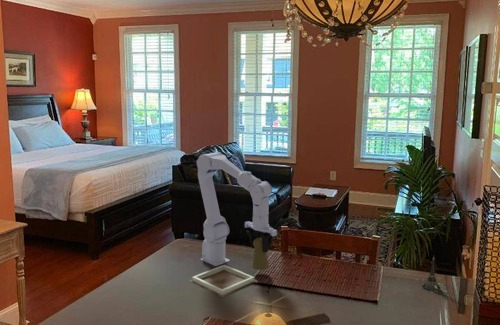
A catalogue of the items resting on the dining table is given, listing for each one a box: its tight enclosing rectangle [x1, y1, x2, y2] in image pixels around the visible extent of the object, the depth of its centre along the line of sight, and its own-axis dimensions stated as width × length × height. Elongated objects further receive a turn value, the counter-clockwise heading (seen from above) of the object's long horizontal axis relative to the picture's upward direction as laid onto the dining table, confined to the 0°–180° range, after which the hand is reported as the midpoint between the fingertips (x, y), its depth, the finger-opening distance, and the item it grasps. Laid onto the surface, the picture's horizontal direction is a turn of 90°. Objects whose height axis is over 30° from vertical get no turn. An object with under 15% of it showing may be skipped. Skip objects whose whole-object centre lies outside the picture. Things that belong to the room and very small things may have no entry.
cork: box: [252, 237, 269, 271], centre depth 174 cm, size 6×6×11 cm
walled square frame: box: [191, 264, 256, 295], centre depth 169 cm, size 16×16×2 cm
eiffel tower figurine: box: [415, 256, 452, 301], centre depth 165 cm, size 15×10×13 cm
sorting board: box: [188, 270, 259, 298], centre depth 169 cm, size 18×18×1 cm
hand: (259, 249), depth 174 cm, fingers closed on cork, 5 cm apart
